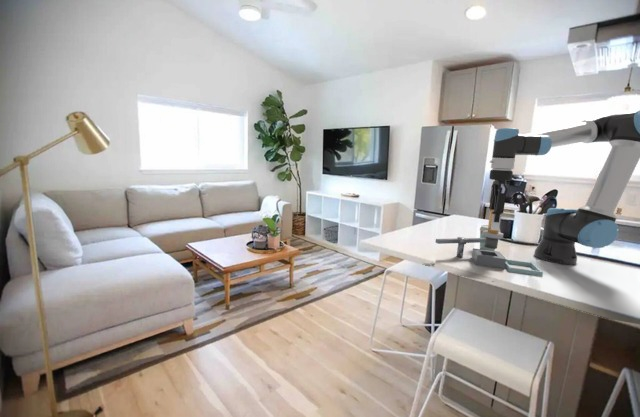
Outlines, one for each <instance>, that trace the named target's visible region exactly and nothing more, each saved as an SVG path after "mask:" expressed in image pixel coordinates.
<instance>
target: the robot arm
mask: <svg viewBox="0 0 640 417" xmlns="http://www.w3.org/2000/svg"><path fill="white" fill-rule="evenodd" d="M600 142H603V143H609V144H610V146H611V150H610V151H609V154H608V156H607V157H606V160H605V162H604V164H603V166H602V169H601V170H600V173H599V174H598V177H597V179H596V182H595V184H594V186H593V188H592V190H591V192H590V194H589V197H588V198H587V200H586V203H585V205H583V206H581V207H579V208H577V209H575V208H561V207H559V208H557V207H550V208H548V209H547V211H546V214H545V216H544V217H545V219H544V225H543V230H542V236H541V240H540V241H539V244H538V245H537V246H536V248H535V249H534V253H533V254H534V257H536V258H539V259H540V260H544V261H547V262H551V263H555V264H563V265H575V264H577V261H578V256H577V251H576V244H579V245H581V246H584V247H586V248H587V247H589V248H592V249H602V248H605V247H608V246H610V245H612V244H613V243H614V242H615V241H616V239H617V238H618V236H619V232H620V230H619V226H618V224H617V223H616V220H617V216H616V214H615V210H616V208H617V207H618V204H619V202H620V200H621V198H622V196H623V194H624V192H625V190H626V188H627V186H628V183H629V181H630V180H631V178H632V175H633V173H634V171H635V169H636V167H637V165H638V163H639V161H640V108H637V109H630V110H624V111H616V112H612V113H608V114H604V115H601V116H597V117H594V118H590V119H585V120H583V121H581V122H580V123H577V124H570V125H565V126H560V127H555V128H549V129H545V130H540V131H534V132H530V133H529V132H528V133H525V134H521V133H520V129H519V128H517V127H516V128H515V127H502V128H498V129H496V131H495V135H494V140H493V148H492V155H491V156H492V157H491V160H490V161H489V163H490V168H491V169H490V171H489V176H488V177H489V180H492V181H493V180H494V182H493V184H491V186H490V187H491V191H490V200H489V213H490V212H491V210H494V212H492V214H493V216H492V223H491V230H497V231H499V228H500V227H499V226H500V225H501V220H502V214H504V210H505V203H506V197H507V193H508V189H509V188H508V187H507V184H506V181H508V182H509V181H512V179H513V173H514V171H513V170H514V169H515V161H516V160H515V159H516V156H545V155H546V154H548V153H549V152H550V151H551V148H556V147H561V146H566V145H570V144H571V145H572V144H578V143H584V144H590V143H600ZM488 219H490V216H489V218H488ZM500 219H501V220H500ZM487 225H489V223H488V224H487Z"/></svg>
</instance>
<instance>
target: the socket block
mask: <svg viewBox="0 0 640 417" xmlns="http://www.w3.org/2000/svg"><path fill="white" fill-rule="evenodd" d="M471 259H472V261H473V263H474V264H475V266H478V267H479V266H481V267H486V268H494V269H499V270H500V269H502V270H505V269H506V267H505V263H506V259H507V258H506V257H505V256H504V255H503V253H501V251H496V250H495V251H490V250H482V249H480V248H474V247H473V248H472V252H471Z"/></svg>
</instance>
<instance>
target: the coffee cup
mask: <svg viewBox="0 0 640 417" xmlns="http://www.w3.org/2000/svg"><path fill="white" fill-rule="evenodd" d="M484 230H488V224H483V225H481V226H480V227H479V238H486V237H485V236H483V235H482V233H483V231H484ZM499 232H500V233H502V232H501V228H500V227H499ZM479 249H482V250H490V251H496V249H491V248H487V247H485V242H480V243H479Z"/></svg>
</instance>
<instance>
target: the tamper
mask: <svg viewBox="0 0 640 417" xmlns="http://www.w3.org/2000/svg"><path fill="white" fill-rule="evenodd" d="M492 212H494V210H491V212H490V211H489V217H490V219H489V218H488V219H489V220H488V224H489V225H488V224H487V225H488V230H484V231H483V233H482V235H483V236H485V237H486V240H485V247H487V248H491V249H495V250H496V249H498V244H499V240H501V239H503V238H504V233H503V232H501V231H500V232H501V233H500V232H499V231H497V230H491V223H492V216H493V214H492ZM501 220H502V218H501V219H500V221H501ZM499 228H500V226H499Z"/></svg>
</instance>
